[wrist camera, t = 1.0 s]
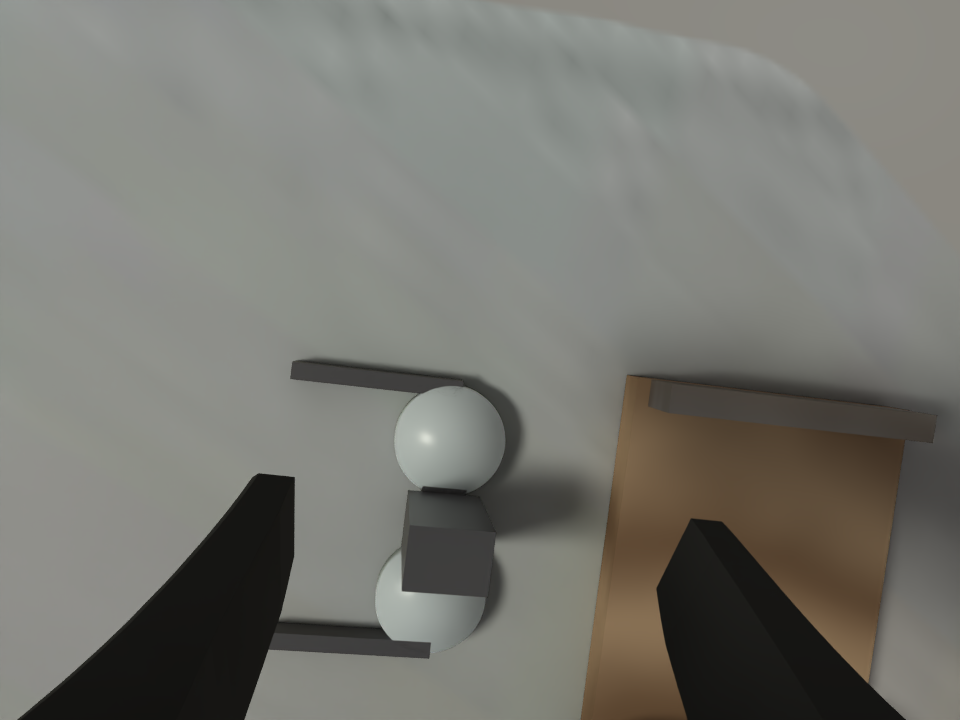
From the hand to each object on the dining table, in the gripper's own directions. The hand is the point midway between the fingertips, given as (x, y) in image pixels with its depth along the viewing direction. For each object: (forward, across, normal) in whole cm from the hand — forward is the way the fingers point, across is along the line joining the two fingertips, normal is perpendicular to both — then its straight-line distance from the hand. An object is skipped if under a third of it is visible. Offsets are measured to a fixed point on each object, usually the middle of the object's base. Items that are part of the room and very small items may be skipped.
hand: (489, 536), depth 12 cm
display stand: (+8, -12, +10) cm, 18 cm away
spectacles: (+9, +2, +9) cm, 13 cm away
